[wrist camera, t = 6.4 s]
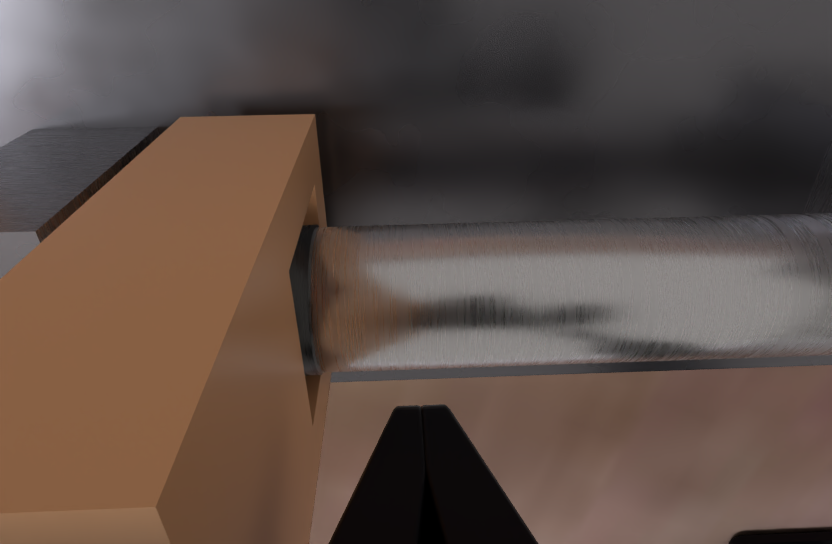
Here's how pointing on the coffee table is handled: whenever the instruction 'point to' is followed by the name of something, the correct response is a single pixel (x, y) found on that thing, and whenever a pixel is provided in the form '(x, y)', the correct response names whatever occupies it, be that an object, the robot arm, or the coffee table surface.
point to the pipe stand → (477, 167)
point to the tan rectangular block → (168, 350)
